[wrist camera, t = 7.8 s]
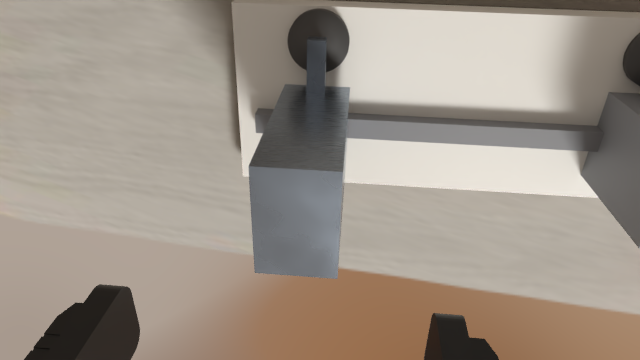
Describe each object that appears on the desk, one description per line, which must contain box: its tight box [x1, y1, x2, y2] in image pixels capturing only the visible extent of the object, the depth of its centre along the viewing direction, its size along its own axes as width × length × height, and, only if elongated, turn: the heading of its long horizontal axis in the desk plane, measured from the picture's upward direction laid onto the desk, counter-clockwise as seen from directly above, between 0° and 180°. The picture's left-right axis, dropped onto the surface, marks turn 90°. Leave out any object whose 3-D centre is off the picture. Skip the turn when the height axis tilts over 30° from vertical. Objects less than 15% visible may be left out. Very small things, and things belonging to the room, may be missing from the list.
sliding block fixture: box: [231, 0, 640, 248], centre depth 21 cm, size 22×9×8 cm, turn 89°
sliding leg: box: [248, 37, 350, 279], centre depth 19 cm, size 3×7×8 cm, turn 178°
